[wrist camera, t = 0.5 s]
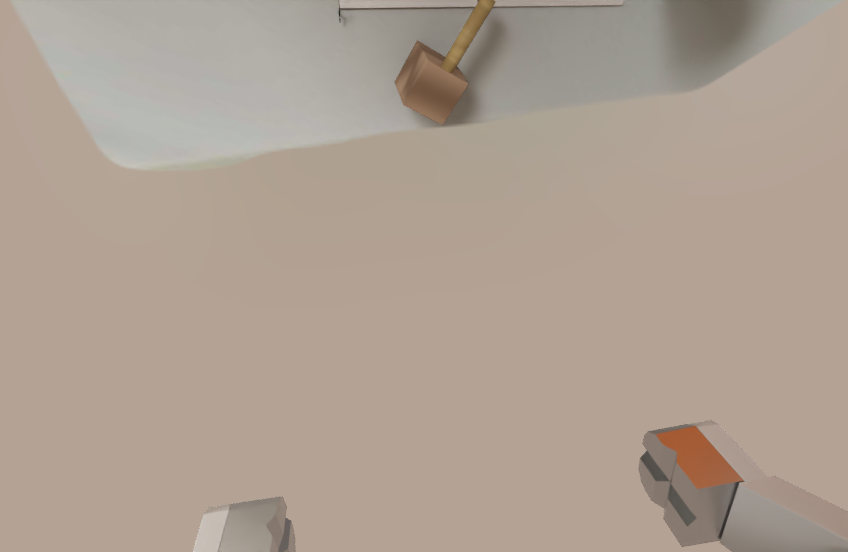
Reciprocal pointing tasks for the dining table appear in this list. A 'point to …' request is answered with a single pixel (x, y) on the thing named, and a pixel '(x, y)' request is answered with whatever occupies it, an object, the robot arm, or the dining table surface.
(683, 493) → the robot arm
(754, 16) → the dining table surface
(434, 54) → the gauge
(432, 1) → the baseboard molding
